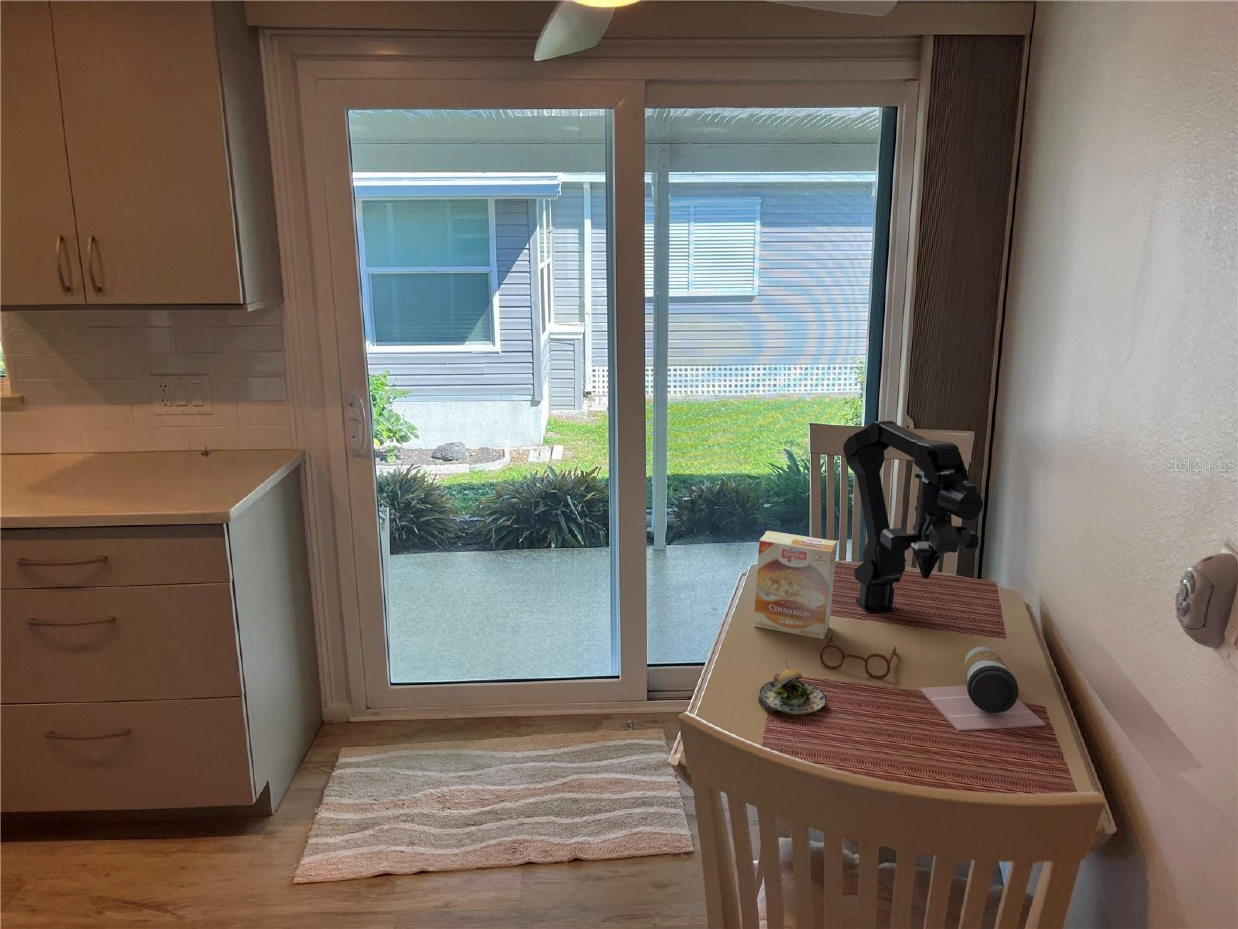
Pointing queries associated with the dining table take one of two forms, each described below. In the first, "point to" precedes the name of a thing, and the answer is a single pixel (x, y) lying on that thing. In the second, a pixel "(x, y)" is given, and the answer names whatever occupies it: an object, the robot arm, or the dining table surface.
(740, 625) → the dining table surface
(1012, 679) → the coffee cup
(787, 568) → the coffeecake box
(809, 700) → the burger
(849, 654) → the glasses
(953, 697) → the pink napkin
